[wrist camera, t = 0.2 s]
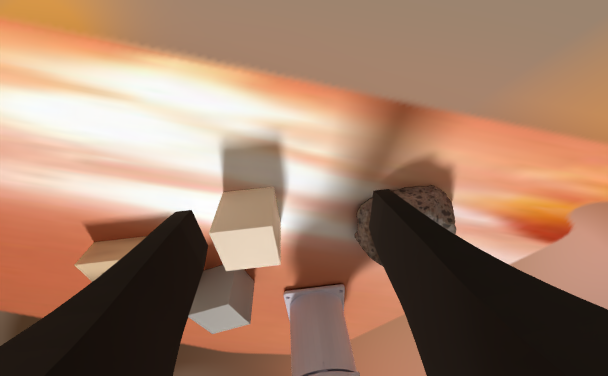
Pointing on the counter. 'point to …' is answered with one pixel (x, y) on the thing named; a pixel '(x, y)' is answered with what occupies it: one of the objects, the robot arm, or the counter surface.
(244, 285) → the slate cube
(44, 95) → the counter surface
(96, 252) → the maple slab
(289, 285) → the counter surface
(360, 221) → the rock
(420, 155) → the counter surface
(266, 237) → the ivory cube
